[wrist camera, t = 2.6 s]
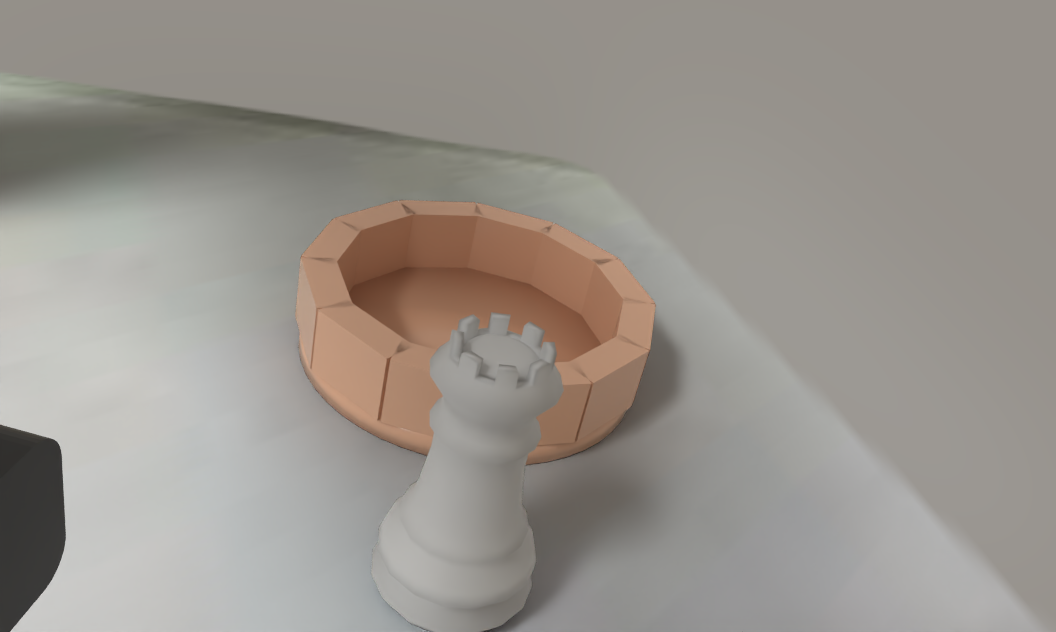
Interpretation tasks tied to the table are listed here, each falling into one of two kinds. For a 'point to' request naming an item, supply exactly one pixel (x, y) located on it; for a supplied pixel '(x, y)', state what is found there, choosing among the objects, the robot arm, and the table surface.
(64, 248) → the table surface
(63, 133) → the table surface
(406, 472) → the table surface
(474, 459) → the rook chess piece
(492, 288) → the dish
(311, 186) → the table surface
